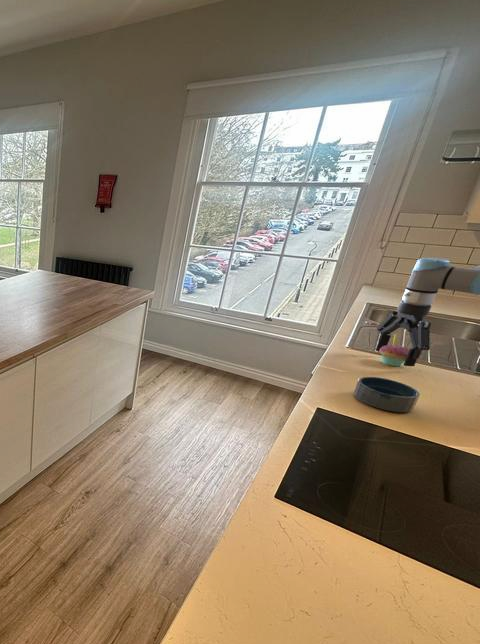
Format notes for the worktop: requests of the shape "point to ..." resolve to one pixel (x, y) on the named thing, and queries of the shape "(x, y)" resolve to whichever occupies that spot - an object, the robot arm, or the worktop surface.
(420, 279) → the robot arm
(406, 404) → the bowl
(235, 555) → the worktop surface
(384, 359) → the cupcake
